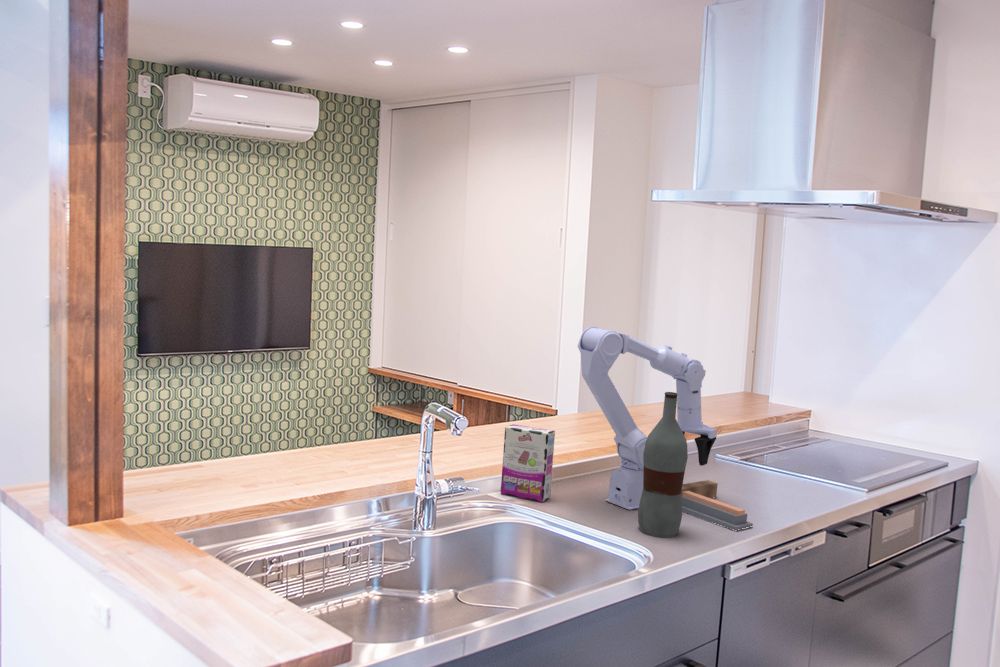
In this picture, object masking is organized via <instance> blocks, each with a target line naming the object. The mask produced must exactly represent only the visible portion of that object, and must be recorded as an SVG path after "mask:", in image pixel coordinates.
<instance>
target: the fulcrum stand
mask: <svg viewBox="0 0 1000 667" xmlns="http://www.w3.org/2000/svg"><path fill="white" fill-rule="evenodd" d="M684 512H685V514H687V513H688V514H687V515H690V516H692V515H693V517H695V518H697V519H700V518H701V519H700V520H703V519H704V521H706V520H707V521H706V522H708V521H710V522H709V523H711V522H713V523H712V524H714V523H716V524H715V525H717V524H719V525H722V526H725V527H728V528H731V529H734V530H738V529H742V528H746V527H750V526H754V523H753V522H750V521H747V520H748V513H746V509H743V508H740V507H737V506H734V505H731V504H728V503H725V502H722V501H720V500H716V499H715V498H712V499H711V498H708V497H705V496H702V495H699V494H696V493H693V492H691V491H685V492H683V496H682V513H684ZM719 525H718V526H719ZM722 526H721V527H722ZM725 527H724V528H725Z"/></svg>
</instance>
